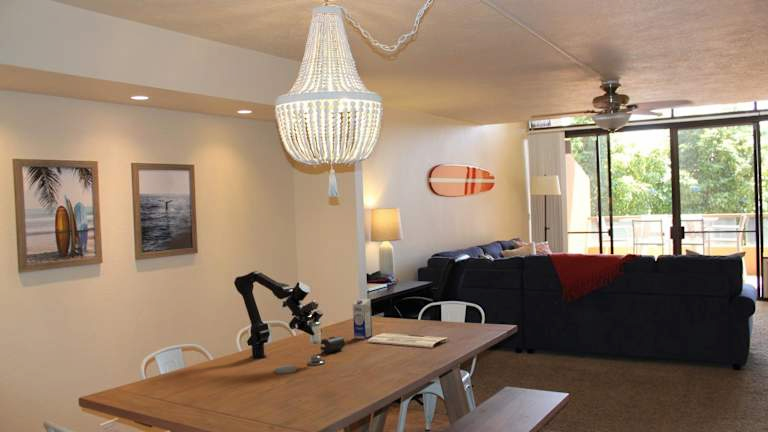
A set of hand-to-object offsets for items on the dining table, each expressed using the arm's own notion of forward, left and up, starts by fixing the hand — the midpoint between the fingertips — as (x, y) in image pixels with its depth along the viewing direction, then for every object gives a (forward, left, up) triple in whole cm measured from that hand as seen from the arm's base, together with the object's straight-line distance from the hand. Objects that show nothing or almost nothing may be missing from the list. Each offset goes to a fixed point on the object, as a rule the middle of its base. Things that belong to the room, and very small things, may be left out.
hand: (317, 333), depth 298 cm
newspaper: (-20, +51, -14) cm, 56 cm away
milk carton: (-43, +35, -13) cm, 57 cm away
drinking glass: (-1, -1, -4) cm, 4 cm away
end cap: (-20, +12, -14) cm, 27 cm away
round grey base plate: (-1, -1, -13) cm, 13 cm away
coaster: (+5, -16, -13) cm, 21 cm away
